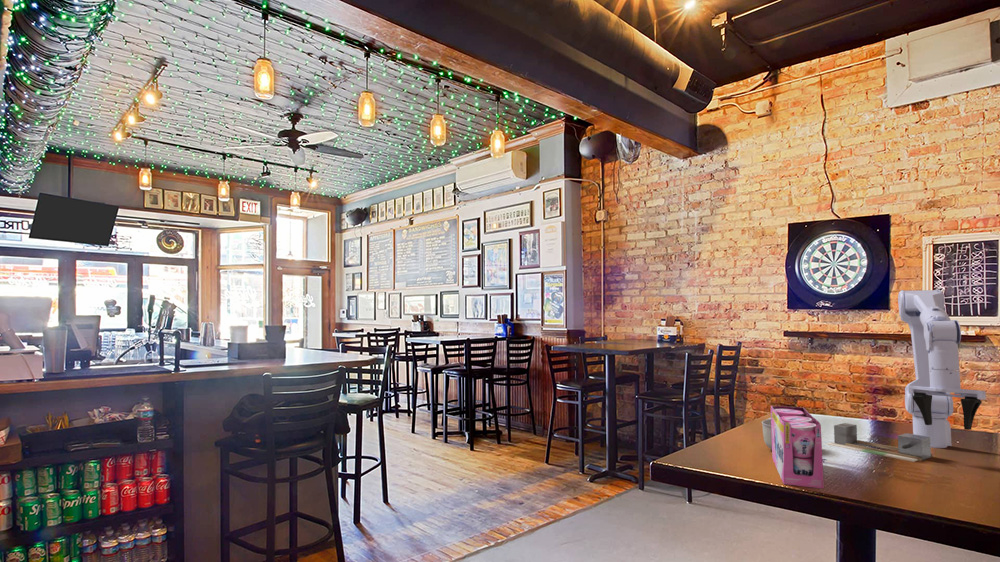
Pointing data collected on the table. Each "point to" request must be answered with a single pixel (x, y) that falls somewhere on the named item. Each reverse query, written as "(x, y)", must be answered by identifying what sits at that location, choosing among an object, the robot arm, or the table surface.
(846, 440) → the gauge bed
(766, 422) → the teacup
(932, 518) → the table surface
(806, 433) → the gum box
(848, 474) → the table surface
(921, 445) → the gauge carriage
